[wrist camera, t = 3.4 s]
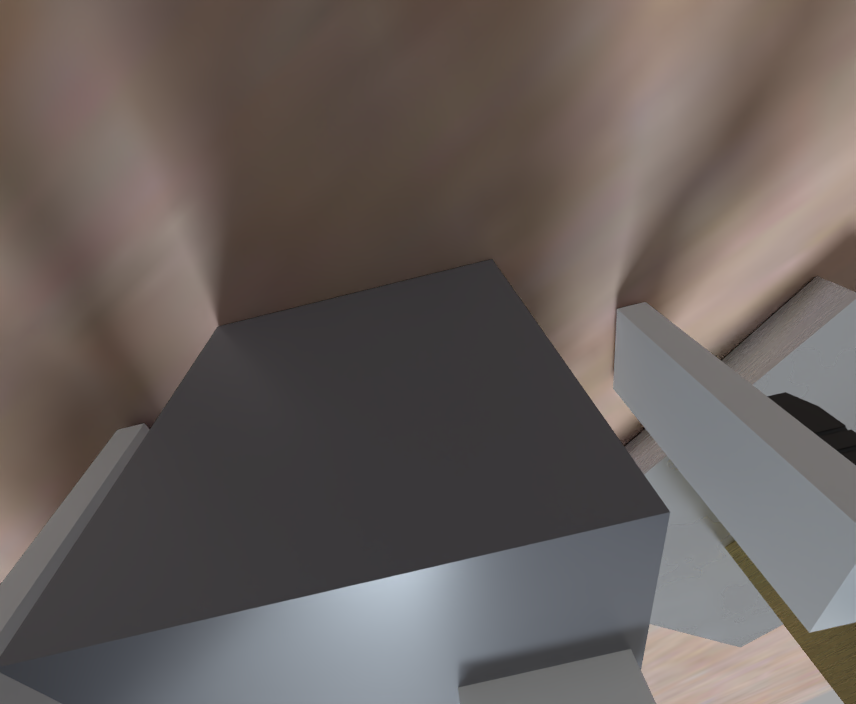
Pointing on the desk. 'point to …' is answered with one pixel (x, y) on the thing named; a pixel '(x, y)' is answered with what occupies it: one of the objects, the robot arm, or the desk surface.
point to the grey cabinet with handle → (363, 522)
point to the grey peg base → (702, 531)
